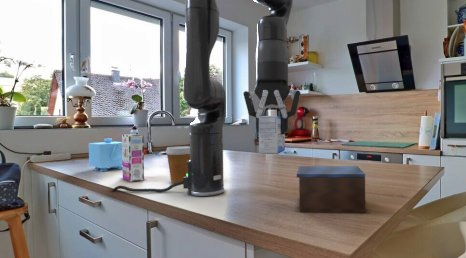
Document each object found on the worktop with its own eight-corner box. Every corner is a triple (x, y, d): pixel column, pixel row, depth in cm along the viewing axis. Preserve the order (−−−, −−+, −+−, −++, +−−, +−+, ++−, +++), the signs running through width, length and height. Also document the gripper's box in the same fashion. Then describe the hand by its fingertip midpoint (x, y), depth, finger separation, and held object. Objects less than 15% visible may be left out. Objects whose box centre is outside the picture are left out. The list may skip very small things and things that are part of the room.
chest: (299, 211, 66) (299, 177, 66) (301, 198, 78) (301, 169, 78) (365, 212, 65) (365, 177, 65) (357, 199, 77) (357, 169, 77)
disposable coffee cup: (162, 181, 103) (162, 147, 102) (190, 178, 109) (189, 145, 108) (170, 186, 95) (169, 149, 95) (199, 182, 101) (198, 147, 101)
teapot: (87, 168, 134) (86, 138, 134) (113, 165, 143) (113, 137, 142) (106, 173, 120) (105, 140, 120) (134, 170, 129) (133, 138, 129)
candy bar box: (145, 180, 105) (144, 134, 105) (129, 182, 102) (128, 135, 101) (136, 176, 113) (135, 133, 113) (122, 178, 110) (120, 134, 110)
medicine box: (277, 154, 66) (277, 115, 66) (258, 153, 67) (258, 115, 67) (285, 150, 74) (285, 116, 74) (268, 150, 75) (268, 116, 75)
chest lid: (296, 177, 66) (296, 173, 66) (299, 169, 78) (299, 166, 78) (365, 177, 65) (365, 173, 65) (357, 169, 77) (357, 166, 77)
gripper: (303, 65, 73) (303, 133, 74) (246, 66, 74) (246, 133, 75) (301, 58, 66) (301, 135, 66) (238, 59, 67) (239, 135, 67)
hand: (272, 133), depth 70 cm, fingers closed on medicine box, 4 cm apart
